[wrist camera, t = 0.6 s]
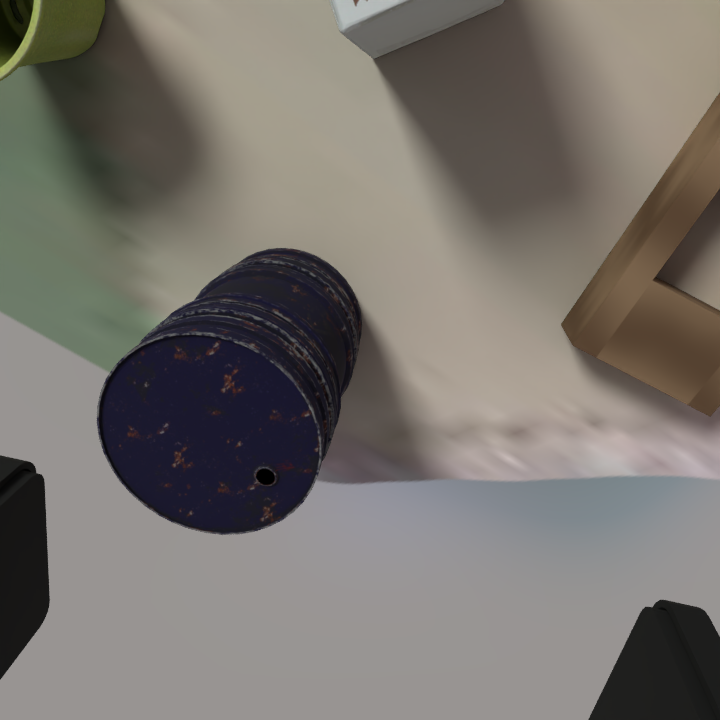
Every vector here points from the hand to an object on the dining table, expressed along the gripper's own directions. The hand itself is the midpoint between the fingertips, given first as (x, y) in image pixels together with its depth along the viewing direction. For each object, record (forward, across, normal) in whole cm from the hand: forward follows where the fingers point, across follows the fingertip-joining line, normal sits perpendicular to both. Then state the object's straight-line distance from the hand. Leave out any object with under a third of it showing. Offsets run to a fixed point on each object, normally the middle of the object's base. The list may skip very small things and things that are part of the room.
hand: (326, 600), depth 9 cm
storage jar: (+29, +6, +7) cm, 31 cm away
